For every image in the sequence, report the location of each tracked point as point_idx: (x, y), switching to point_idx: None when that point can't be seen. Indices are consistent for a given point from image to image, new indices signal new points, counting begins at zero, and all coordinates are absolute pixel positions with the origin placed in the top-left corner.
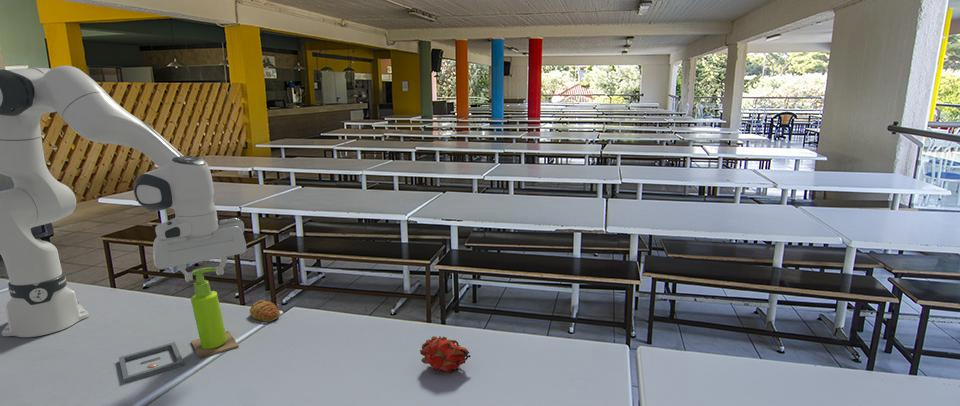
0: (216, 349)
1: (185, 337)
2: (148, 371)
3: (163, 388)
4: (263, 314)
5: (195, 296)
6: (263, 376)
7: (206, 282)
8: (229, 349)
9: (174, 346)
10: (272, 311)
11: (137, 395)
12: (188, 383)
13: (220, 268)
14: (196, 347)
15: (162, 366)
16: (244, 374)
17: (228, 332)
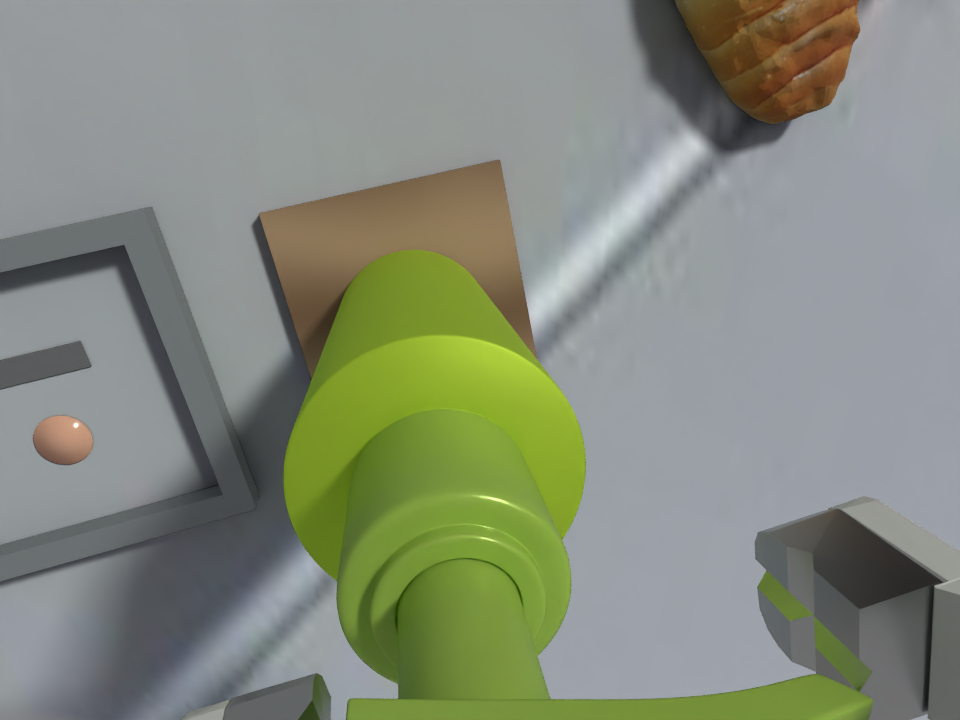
0: None
1: (202, 92)
2: (68, 560)
3: (193, 681)
4: (753, 75)
5: (341, 490)
6: (613, 696)
7: (543, 635)
8: None
9: (157, 284)
10: (818, 73)
11: (76, 707)
12: (307, 670)
13: (918, 709)
14: (307, 331)
15: (140, 527)
16: (545, 663)
17: (499, 192)
